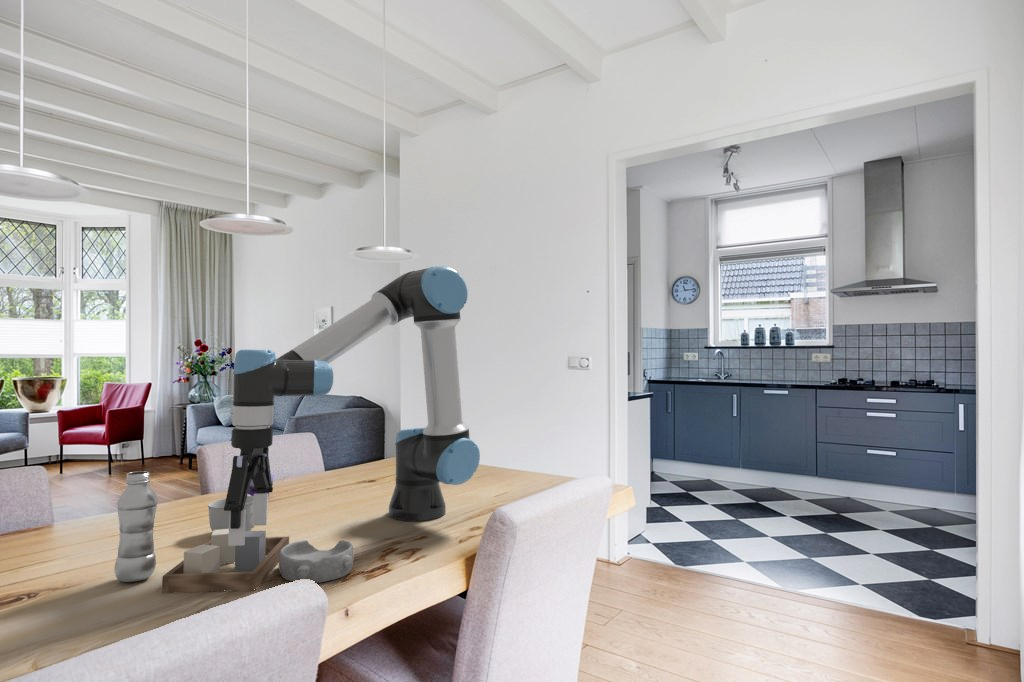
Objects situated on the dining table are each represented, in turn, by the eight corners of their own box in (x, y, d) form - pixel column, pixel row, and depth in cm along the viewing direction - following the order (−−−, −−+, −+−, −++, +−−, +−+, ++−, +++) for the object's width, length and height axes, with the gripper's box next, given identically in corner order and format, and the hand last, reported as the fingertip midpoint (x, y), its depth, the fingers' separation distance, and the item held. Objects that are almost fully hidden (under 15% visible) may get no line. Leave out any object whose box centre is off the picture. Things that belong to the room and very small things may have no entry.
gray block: (265, 565, 119) (265, 530, 120) (258, 572, 115) (259, 536, 116) (242, 566, 119) (242, 531, 119) (234, 573, 115) (235, 537, 115)
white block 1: (219, 577, 113) (219, 546, 113) (201, 586, 108) (202, 553, 108) (201, 575, 114) (202, 544, 114) (183, 584, 109) (183, 551, 109)
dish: (278, 566, 120) (278, 541, 120) (349, 557, 125) (349, 533, 125) (278, 592, 106) (279, 564, 106) (357, 582, 111) (358, 555, 112)
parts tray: (288, 550, 129) (289, 536, 129) (255, 590, 107) (255, 573, 107) (212, 552, 127) (212, 538, 127) (162, 593, 105) (162, 576, 105)
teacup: (238, 542, 134) (238, 506, 134) (196, 539, 136) (197, 504, 136) (274, 525, 148) (275, 493, 148) (236, 522, 150) (236, 490, 150)
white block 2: (236, 556, 125) (237, 527, 125) (235, 562, 121) (235, 533, 121) (213, 559, 123) (213, 529, 123) (210, 565, 119) (211, 535, 119)
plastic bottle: (126, 574, 114) (128, 470, 115) (162, 573, 115) (165, 469, 115) (106, 587, 108) (108, 476, 108) (145, 586, 108) (147, 476, 109)
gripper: (253, 420, 130) (250, 518, 129) (207, 434, 105) (202, 555, 104) (289, 420, 131) (286, 517, 130) (251, 434, 106) (246, 554, 105)
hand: (248, 534), depth 117 cm, fingers open, 13 cm apart
